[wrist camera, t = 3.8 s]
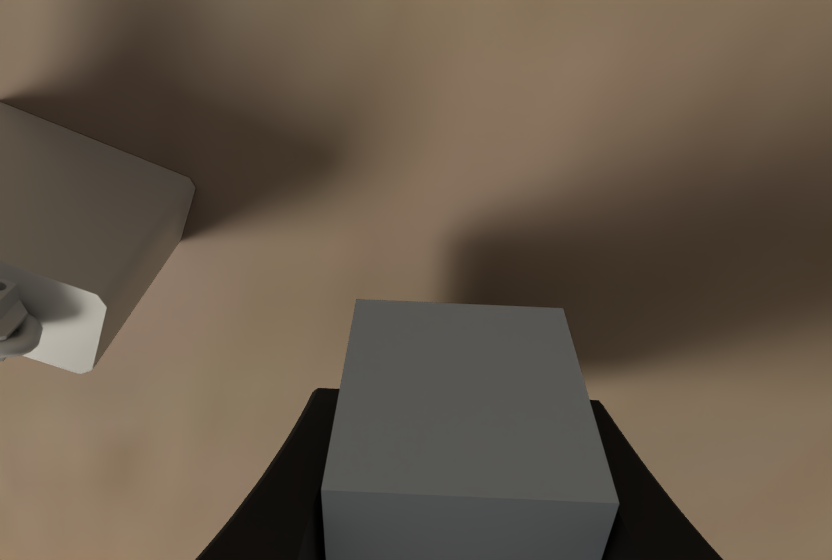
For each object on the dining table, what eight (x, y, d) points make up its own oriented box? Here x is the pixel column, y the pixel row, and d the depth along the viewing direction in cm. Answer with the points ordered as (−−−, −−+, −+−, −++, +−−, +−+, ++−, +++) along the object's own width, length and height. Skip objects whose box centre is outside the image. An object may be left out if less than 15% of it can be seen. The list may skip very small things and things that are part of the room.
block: (563, 307, 12) (619, 503, 8) (534, 451, 14) (570, 657, 11) (356, 299, 12) (320, 489, 9) (358, 443, 14) (332, 646, 11)
